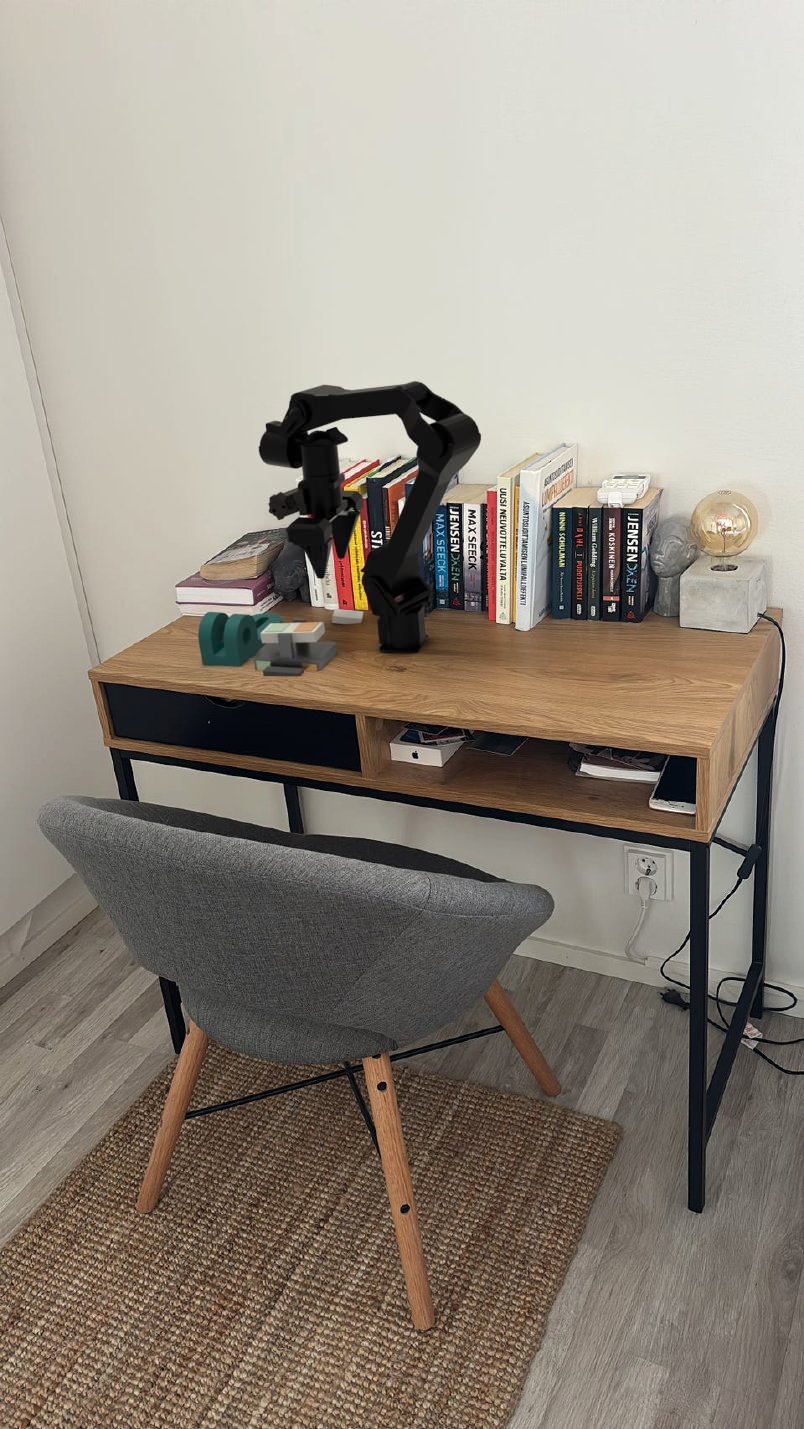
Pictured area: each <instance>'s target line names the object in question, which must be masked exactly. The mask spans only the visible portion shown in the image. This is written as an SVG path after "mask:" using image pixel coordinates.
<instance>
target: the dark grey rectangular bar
mask: <svg viewBox="0 0 804 1429" xmlns="http://www.w3.org/2000/svg"><path fill="white" fill-rule="evenodd" d="M262 673H263V674H262V675H263V677H301V676H302V675H303V674H304V673H305V671H304V669H302V668H288V667H273V666H267V667H266V668H265V669H264V670H262Z"/></svg>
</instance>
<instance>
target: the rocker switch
mask: <svg viewBox="0 0 804 1429" xmlns="http://www.w3.org/2000/svg"><path fill="white" fill-rule="evenodd" d="M325 632H326V628H325V624H324V621H319V622H316V621H315V622H314V621H313V622H309V621H308V622H307V623H293V622H282V623H270V624H269V625H268V626H267V627H266V628H265V629H264V630H263V631H262V632H261V633H260V635H261V640H262V643H278V636H277V635H278V634H279V633H290V634H292V641H293V642H316V641H319V639H321V637H322V636H323V635H324V634H325Z"/></svg>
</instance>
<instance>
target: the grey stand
mask: <svg viewBox="0 0 804 1429" xmlns="http://www.w3.org/2000/svg"><path fill="white" fill-rule="evenodd" d="M292 623H308V621H307V618H301V617H294V618H293V619H292ZM277 636H278V643H266V644H265V645H264V646H263V647H262V648H261V649H260V650H259V651H258V652H257V653H256V654H255V655H254V656H253V657H252V658H253V664H254V665H253V666H254V670H256V671H263V670H264V669H265V668H266V667H267V666H273V667H288V668H302V669H304V672H306V671H307V672H318V671H322V670H323V669H324V668H325V667H326V666H327V665H328V664H329V662H330V661H332V659H333V658H334V657H335V656H336V655H337V654H338V649H337V642H336V641H334V642H333V641H321V640H320V641H319V640H317V641H316V642H293V641H292V634H290V633H279V634H278V635H277ZM336 653H337V654H336Z"/></svg>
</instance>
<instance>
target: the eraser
mask: <svg viewBox="0 0 804 1429" xmlns="http://www.w3.org/2000/svg"><path fill="white" fill-rule="evenodd" d="M363 617H364V611H360V610H351V609H348V610H347V609H340V608H335V609H334V610H333V613H332V617H331V619H332V621H331V623H332V624H333V623H334V624H340V625H341V624H342V625H351V624H352V625H353V624H354V625H355V624H361V623H362V620H363Z"/></svg>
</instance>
